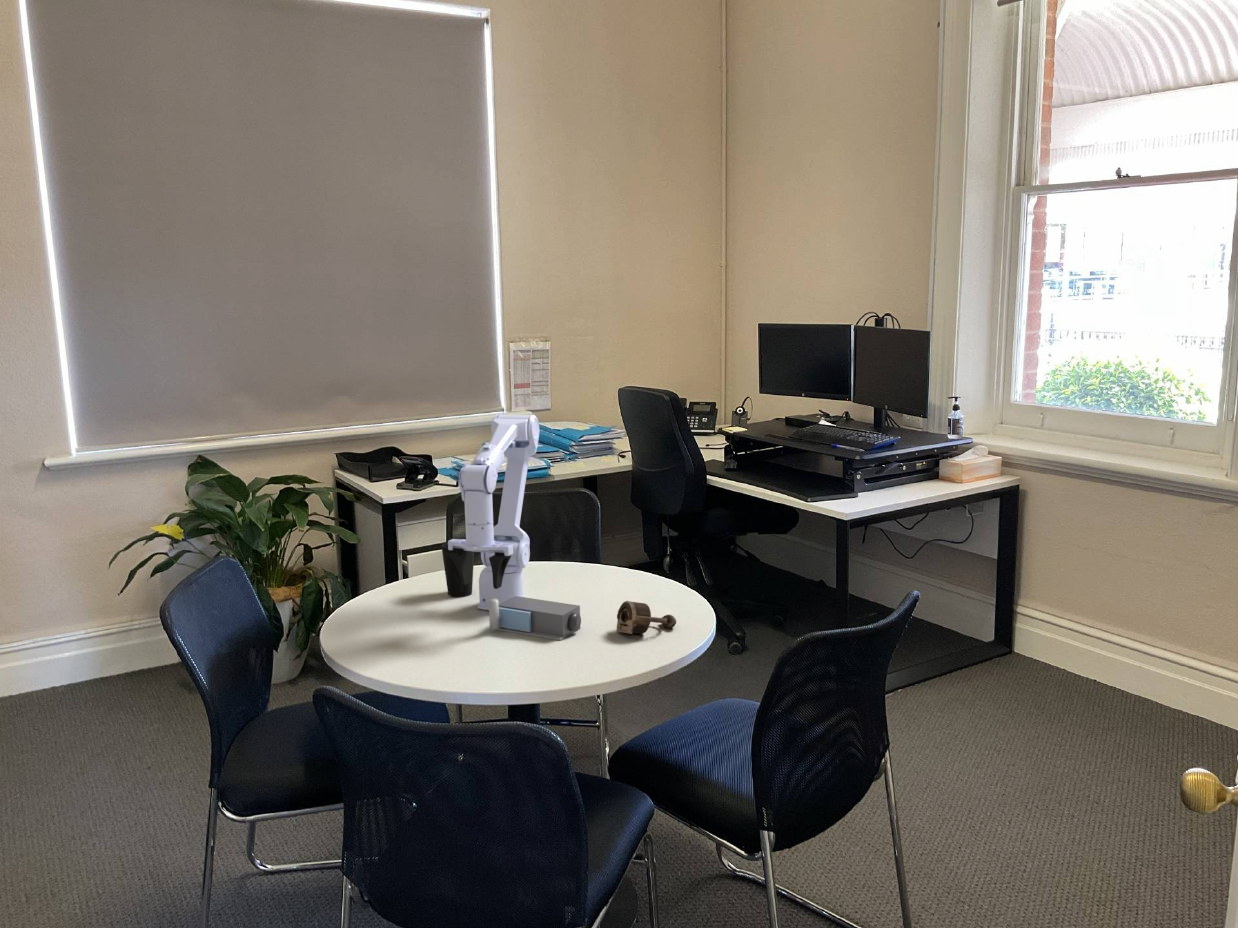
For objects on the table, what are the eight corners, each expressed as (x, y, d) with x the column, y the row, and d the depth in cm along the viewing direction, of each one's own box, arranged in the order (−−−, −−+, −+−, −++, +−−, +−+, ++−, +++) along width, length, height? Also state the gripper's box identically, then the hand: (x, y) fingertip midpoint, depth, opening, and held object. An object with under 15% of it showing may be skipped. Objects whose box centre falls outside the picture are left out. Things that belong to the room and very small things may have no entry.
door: (488, 629, 205) (486, 600, 204) (496, 625, 208) (495, 596, 207) (522, 635, 201) (521, 606, 200) (531, 631, 204) (530, 601, 203)
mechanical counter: (610, 600, 209) (614, 604, 199) (670, 591, 210) (677, 595, 200) (615, 634, 209) (619, 640, 199) (674, 625, 210) (681, 630, 200)
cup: (483, 591, 234) (481, 542, 232) (461, 600, 228) (459, 550, 226) (458, 587, 238) (456, 538, 236) (436, 595, 232) (434, 545, 230)
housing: (495, 629, 208) (494, 606, 207) (516, 618, 215) (515, 595, 214) (565, 641, 200) (565, 617, 199) (585, 629, 207) (584, 606, 206)
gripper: (438, 523, 204) (441, 587, 206) (500, 529, 198) (502, 594, 200) (457, 516, 210) (460, 578, 212) (517, 521, 204) (519, 585, 206)
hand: (481, 585), depth 207 cm, fingers open, 7 cm apart
